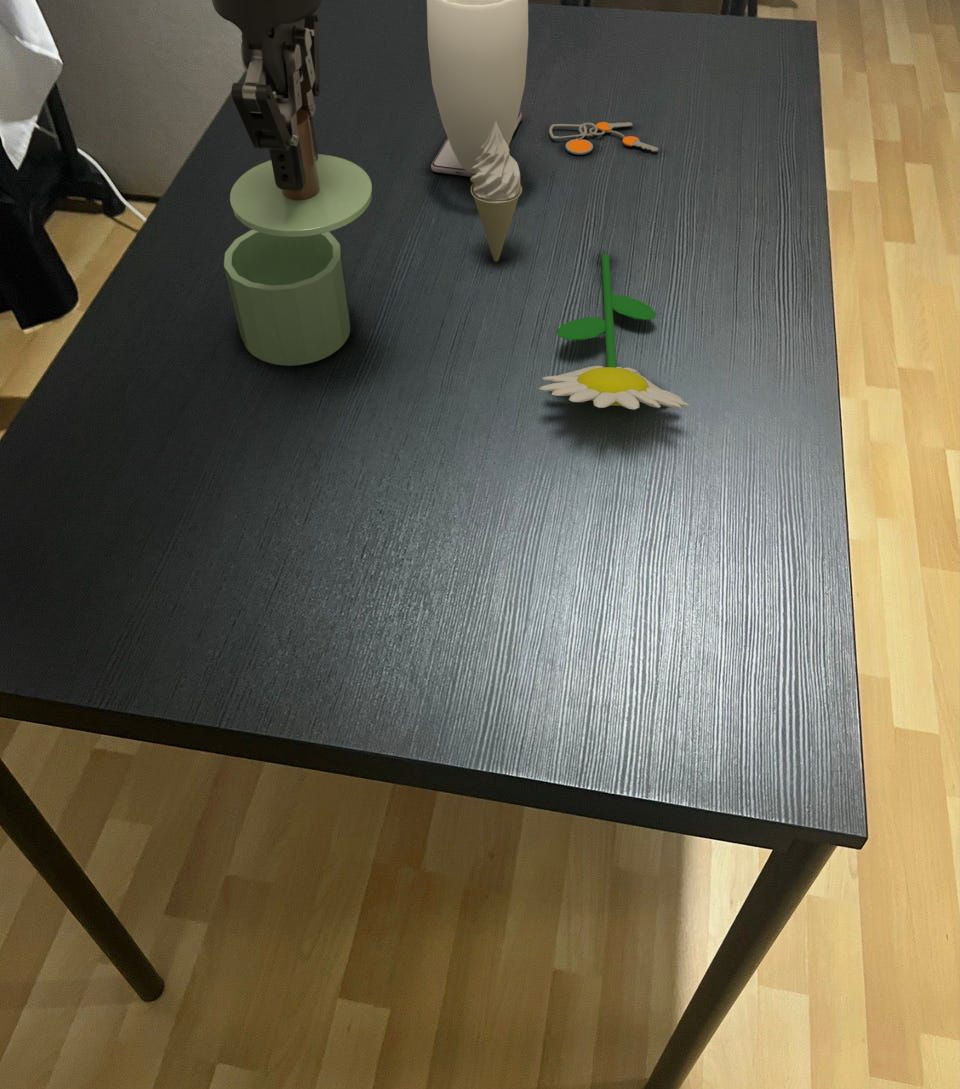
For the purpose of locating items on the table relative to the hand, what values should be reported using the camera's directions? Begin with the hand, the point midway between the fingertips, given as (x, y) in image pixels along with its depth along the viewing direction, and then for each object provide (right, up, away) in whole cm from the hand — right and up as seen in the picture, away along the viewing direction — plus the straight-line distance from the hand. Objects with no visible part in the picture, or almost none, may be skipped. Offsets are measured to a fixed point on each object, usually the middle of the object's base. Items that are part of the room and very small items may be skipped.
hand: (297, 174), depth 78 cm
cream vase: (+14, +11, +35) cm, 39 cm away
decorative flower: (+26, -11, +16) cm, 33 cm away
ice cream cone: (+16, +1, +26) cm, 30 cm away
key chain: (+29, +19, +41) cm, 54 cm away
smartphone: (+14, +18, +40) cm, 47 cm away
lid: (0, -1, +1) cm, 2 cm away
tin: (-3, -8, +18) cm, 20 cm away
